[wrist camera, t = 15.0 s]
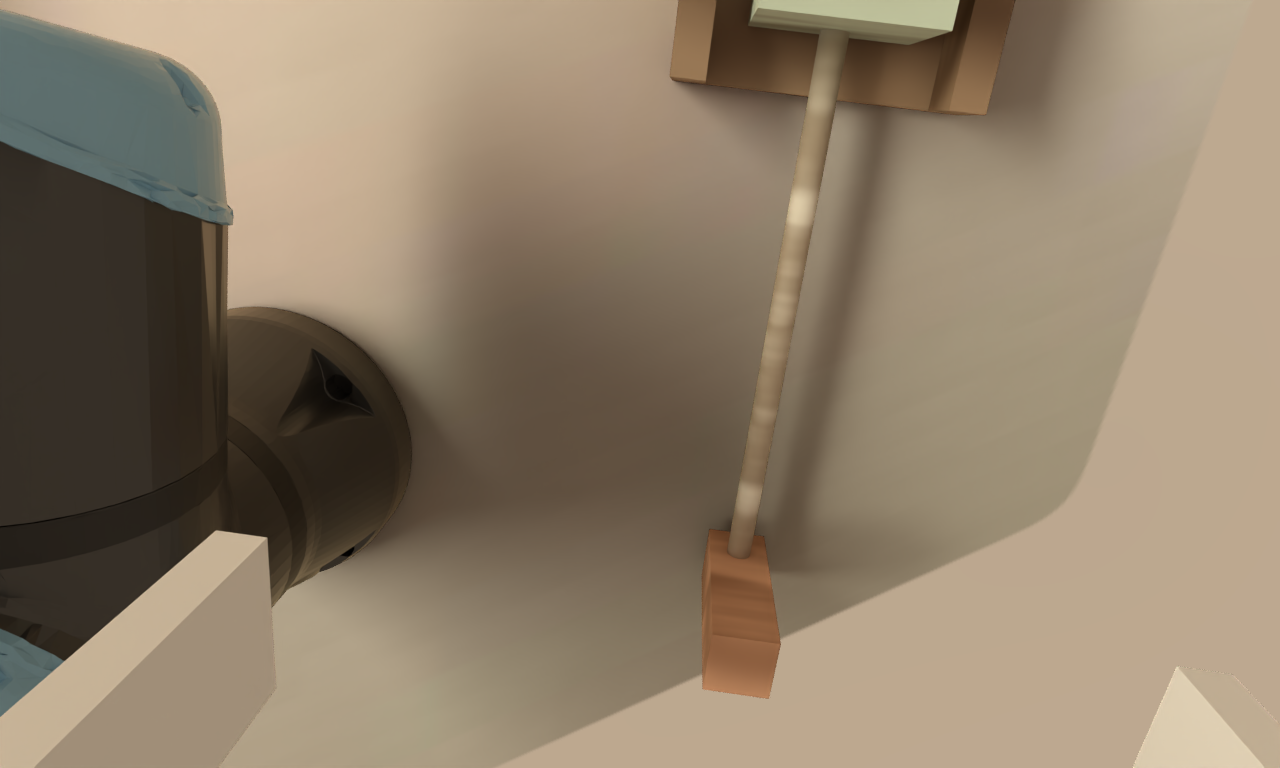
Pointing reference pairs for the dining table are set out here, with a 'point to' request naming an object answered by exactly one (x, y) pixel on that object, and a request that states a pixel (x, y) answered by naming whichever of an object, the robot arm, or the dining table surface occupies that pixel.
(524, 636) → the dining table surface
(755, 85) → the tray
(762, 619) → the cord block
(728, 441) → the dining table surface
